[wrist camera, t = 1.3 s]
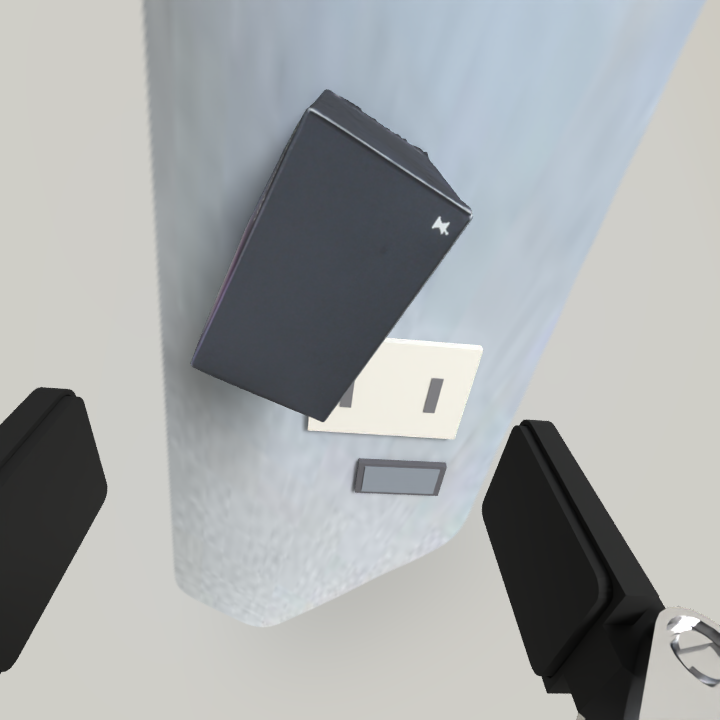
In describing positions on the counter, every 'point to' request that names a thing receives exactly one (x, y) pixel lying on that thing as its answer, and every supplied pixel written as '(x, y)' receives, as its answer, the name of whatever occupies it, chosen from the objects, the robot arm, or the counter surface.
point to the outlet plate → (408, 391)
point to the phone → (399, 477)
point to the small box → (328, 260)
